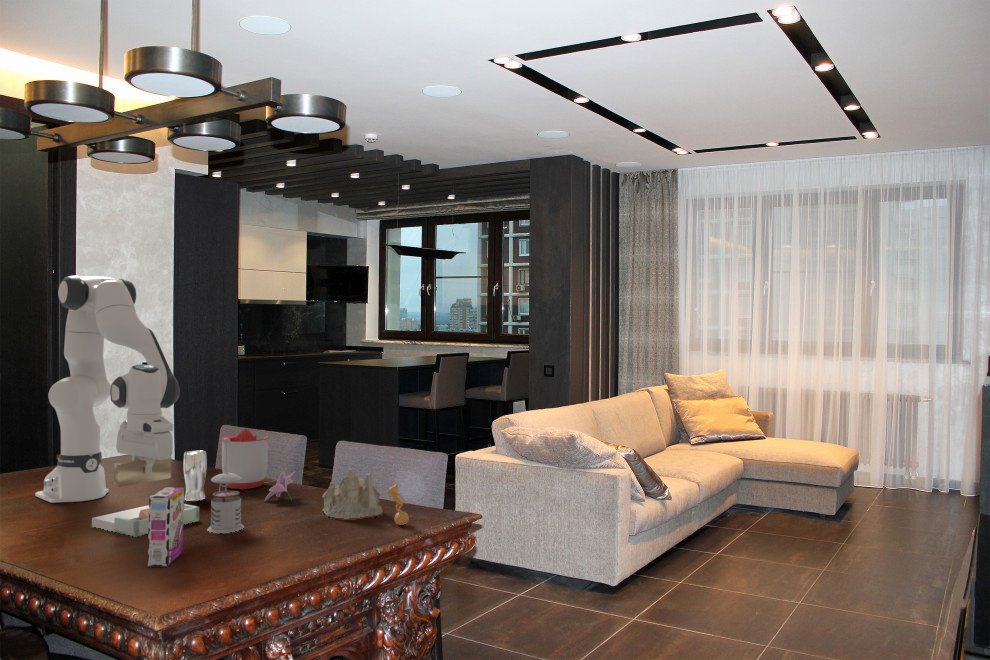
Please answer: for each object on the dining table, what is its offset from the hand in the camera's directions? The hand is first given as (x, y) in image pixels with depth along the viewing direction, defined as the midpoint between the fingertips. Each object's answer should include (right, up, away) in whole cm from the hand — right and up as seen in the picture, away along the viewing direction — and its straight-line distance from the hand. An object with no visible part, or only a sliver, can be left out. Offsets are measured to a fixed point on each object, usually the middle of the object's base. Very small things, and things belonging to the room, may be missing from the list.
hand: (142, 472), depth 216 cm
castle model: (+56, -15, +14) cm, 60 cm away
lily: (+30, -15, +30) cm, 45 cm away
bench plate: (-3, -14, +2) cm, 15 cm away
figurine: (+71, -16, +1) cm, 73 cm away
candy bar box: (+20, -15, -32) cm, 41 cm away
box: (+5, -14, -3) cm, 16 cm away
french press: (+24, -15, -3) cm, 29 cm away
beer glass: (+3, -14, +30) cm, 33 cm away
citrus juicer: (+13, -14, +50) cm, 54 cm away
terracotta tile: (+3, -13, -1) cm, 13 cm away
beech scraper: (0, -3, 0) cm, 3 cm away
